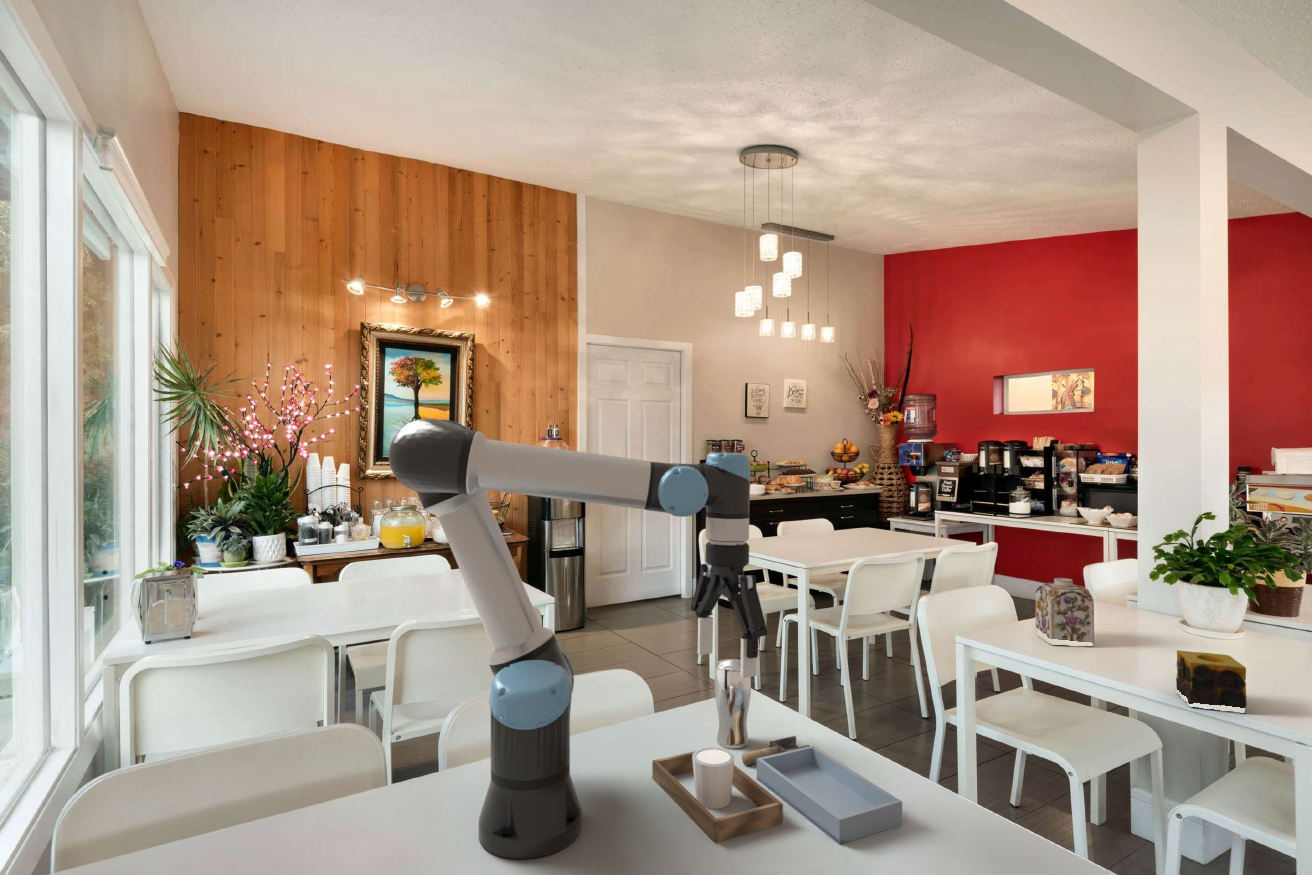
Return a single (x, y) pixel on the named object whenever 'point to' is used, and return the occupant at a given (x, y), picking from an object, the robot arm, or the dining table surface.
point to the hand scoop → (771, 749)
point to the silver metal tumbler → (732, 704)
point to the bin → (829, 794)
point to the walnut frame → (713, 827)
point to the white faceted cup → (713, 776)
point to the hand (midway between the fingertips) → (725, 664)
